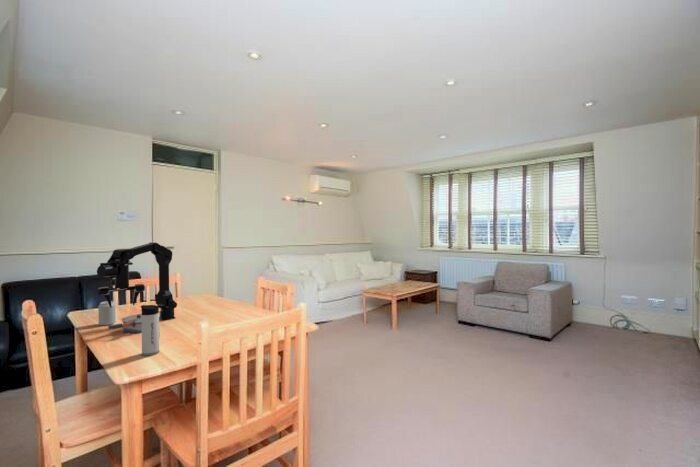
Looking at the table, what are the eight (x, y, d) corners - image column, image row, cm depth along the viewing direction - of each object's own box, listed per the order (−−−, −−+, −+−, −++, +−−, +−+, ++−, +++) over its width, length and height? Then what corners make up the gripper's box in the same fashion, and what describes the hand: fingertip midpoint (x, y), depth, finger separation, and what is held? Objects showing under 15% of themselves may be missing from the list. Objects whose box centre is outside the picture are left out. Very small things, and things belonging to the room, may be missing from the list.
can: (106, 326, 179) (106, 303, 178) (95, 325, 180) (94, 303, 180) (119, 322, 186) (118, 300, 186) (107, 321, 188) (107, 300, 187)
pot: (156, 322, 186) (156, 313, 186) (165, 327, 177) (165, 318, 176) (105, 332, 169) (105, 322, 169) (112, 338, 160) (112, 328, 160)
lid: (131, 316, 180) (131, 311, 180) (160, 315, 182) (160, 310, 182) (109, 327, 160) (109, 322, 160) (142, 326, 162) (142, 321, 162)
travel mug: (145, 350, 144) (145, 303, 144) (162, 350, 145) (161, 303, 144) (137, 356, 138) (137, 307, 138) (154, 355, 139) (154, 307, 138)
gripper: (142, 271, 179) (142, 301, 180) (98, 274, 168) (98, 305, 169) (144, 274, 170) (145, 305, 171) (98, 277, 159) (98, 310, 160)
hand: (122, 306), depth 168 cm, fingers open, 9 cm apart
